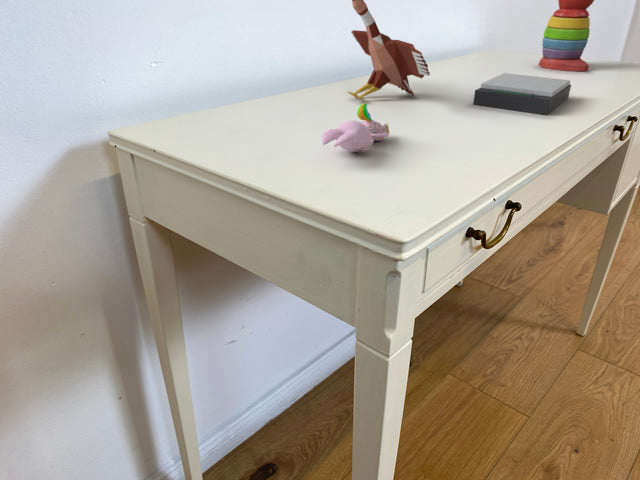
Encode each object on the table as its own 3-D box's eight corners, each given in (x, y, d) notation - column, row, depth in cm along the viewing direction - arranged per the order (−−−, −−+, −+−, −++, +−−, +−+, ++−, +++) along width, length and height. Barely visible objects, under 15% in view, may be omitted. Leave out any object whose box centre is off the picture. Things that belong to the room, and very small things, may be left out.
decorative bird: (294, 67, 97) (322, -14, 92) (373, 98, 105) (403, 25, 100) (345, 100, 73) (387, -7, 68) (442, 136, 81) (487, 44, 76)
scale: (546, 115, 79) (551, 94, 77) (472, 104, 85) (475, 85, 84) (568, 98, 89) (572, 79, 87) (500, 90, 95) (503, 72, 94)
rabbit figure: (357, 141, 72) (304, 155, 59) (361, 98, 70) (307, 103, 57) (398, 148, 69) (352, 164, 56) (404, 103, 67) (357, 109, 54)
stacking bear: (589, 72, 111) (611, -19, 102) (541, 70, 113) (558, -19, 105) (579, 63, 120) (599, -21, 112) (534, 62, 122) (550, -21, 114)
